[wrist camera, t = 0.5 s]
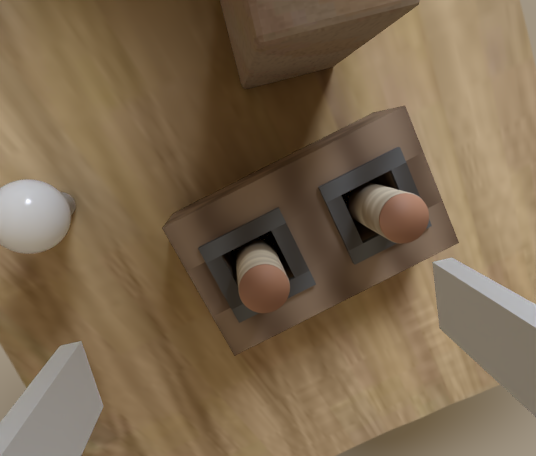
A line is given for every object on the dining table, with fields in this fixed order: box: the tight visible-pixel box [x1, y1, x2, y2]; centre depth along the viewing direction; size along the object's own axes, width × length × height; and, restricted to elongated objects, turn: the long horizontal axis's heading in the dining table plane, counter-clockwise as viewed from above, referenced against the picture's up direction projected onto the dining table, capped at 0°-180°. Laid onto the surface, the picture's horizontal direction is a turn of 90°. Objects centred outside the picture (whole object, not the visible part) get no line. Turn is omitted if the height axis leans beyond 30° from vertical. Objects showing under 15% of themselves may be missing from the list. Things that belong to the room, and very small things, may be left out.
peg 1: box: [236, 239, 290, 313], centre depth 36 cm, size 4×4×8 cm
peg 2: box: [348, 183, 429, 244], centre depth 36 cm, size 4×4×8 cm
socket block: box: [162, 106, 459, 356], centre depth 42 cm, size 24×14×9 cm, turn 116°
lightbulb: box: [0, 179, 76, 254], centre depth 38 cm, size 6×6×11 cm
